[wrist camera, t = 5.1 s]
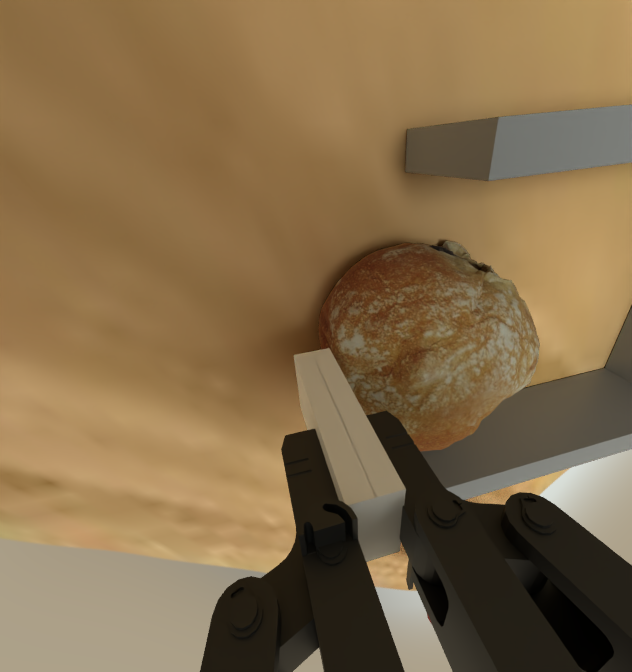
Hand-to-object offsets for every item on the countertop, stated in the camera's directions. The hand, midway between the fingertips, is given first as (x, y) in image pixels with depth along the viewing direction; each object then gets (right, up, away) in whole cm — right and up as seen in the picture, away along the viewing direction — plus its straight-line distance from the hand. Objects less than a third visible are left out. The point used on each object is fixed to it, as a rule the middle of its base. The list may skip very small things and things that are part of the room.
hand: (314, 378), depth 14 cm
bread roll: (+5, +2, +4) cm, 6 cm away
